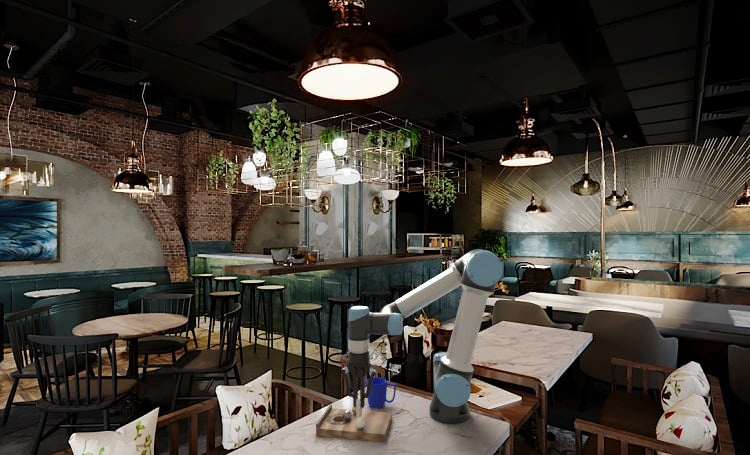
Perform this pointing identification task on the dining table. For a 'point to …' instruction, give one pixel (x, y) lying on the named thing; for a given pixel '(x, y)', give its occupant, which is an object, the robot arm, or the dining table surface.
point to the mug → (379, 392)
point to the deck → (341, 428)
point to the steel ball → (347, 415)
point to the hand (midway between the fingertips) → (359, 416)
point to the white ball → (360, 422)
